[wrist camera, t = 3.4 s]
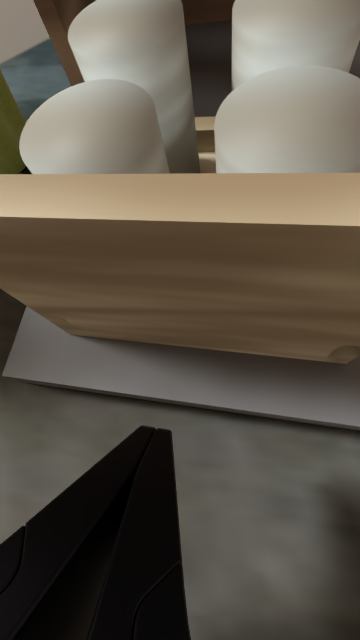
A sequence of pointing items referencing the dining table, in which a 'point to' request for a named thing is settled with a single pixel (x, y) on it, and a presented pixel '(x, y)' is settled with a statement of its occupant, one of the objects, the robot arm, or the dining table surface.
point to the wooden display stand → (168, 360)
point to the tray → (196, 186)
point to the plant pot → (10, 131)
